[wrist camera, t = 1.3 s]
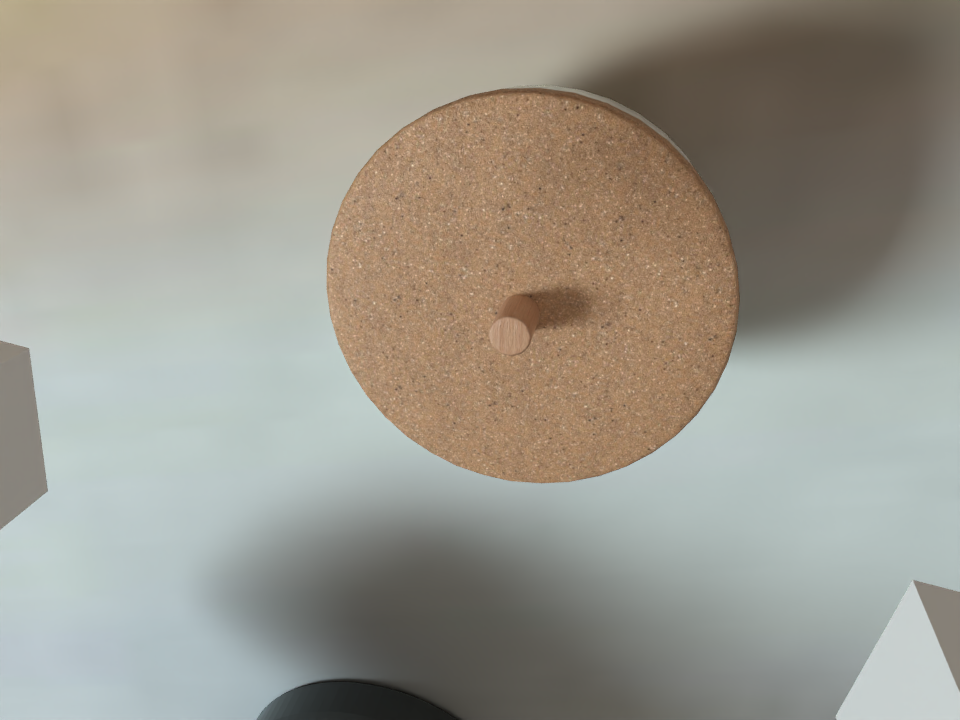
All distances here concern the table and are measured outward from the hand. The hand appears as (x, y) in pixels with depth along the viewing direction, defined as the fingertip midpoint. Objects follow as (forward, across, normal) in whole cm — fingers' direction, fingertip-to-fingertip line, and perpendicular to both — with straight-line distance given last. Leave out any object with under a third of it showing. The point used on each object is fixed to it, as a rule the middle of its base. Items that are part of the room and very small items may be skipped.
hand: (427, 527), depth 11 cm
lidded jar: (+17, 0, 0) cm, 17 cm away
